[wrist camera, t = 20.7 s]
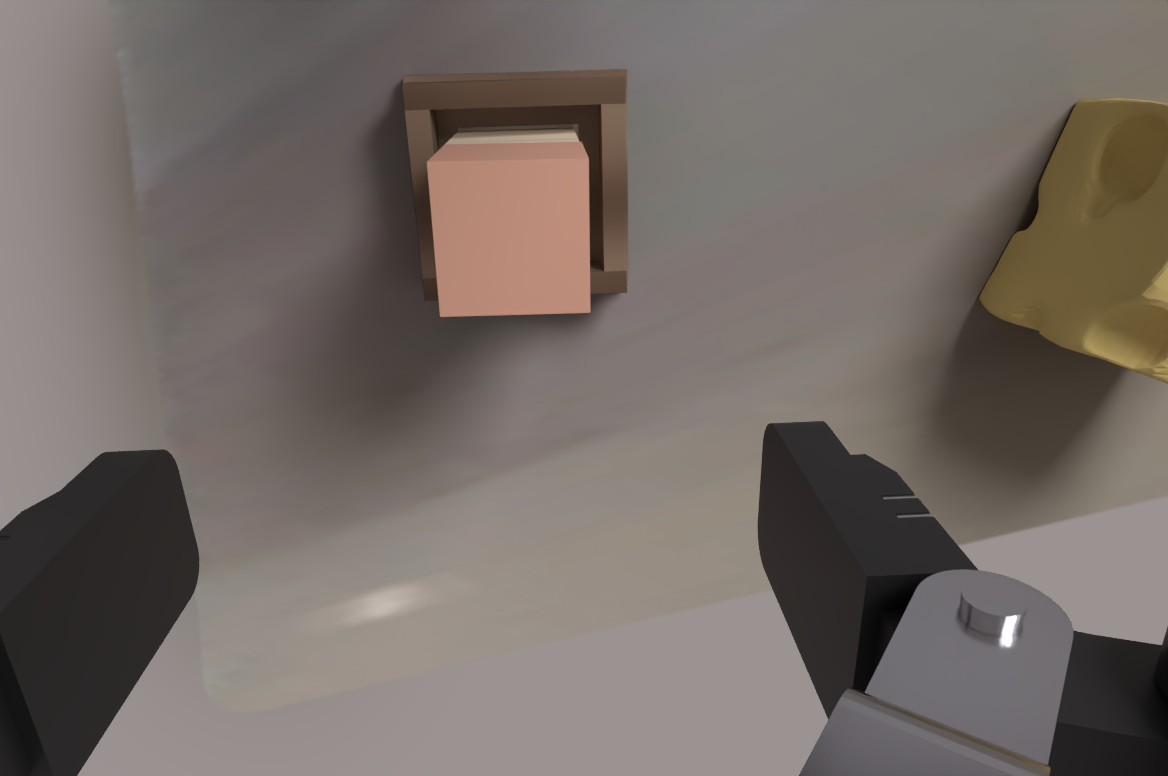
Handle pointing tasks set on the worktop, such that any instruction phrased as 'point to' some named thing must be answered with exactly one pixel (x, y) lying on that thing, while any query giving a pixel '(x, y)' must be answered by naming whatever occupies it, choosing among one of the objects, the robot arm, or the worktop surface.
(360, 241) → the worktop surface
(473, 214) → the top block
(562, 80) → the socket board
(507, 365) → the worktop surface
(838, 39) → the worktop surface
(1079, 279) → the cheese
